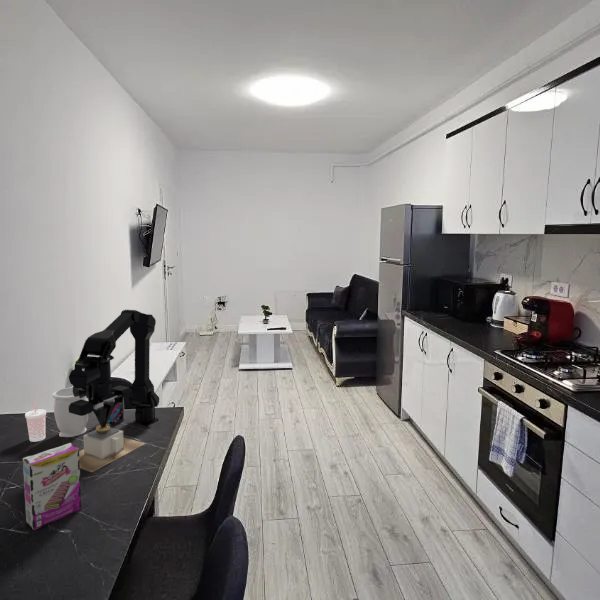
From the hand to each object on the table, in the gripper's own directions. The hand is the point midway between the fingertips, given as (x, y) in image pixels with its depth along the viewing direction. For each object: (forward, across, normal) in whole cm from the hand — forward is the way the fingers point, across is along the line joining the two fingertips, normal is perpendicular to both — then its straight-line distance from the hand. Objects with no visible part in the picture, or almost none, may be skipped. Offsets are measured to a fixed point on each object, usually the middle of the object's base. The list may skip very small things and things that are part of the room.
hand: (103, 426), depth 138 cm
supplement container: (+9, -18, -16) cm, 26 cm away
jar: (+9, -5, -21) cm, 23 cm away
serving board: (+9, 0, 0) cm, 9 cm away
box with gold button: (+8, 0, 0) cm, 8 cm away
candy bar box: (+9, +27, +15) cm, 32 cm away
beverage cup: (+9, +3, -28) cm, 30 cm away
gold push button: (+7, 0, 0) cm, 7 cm away
